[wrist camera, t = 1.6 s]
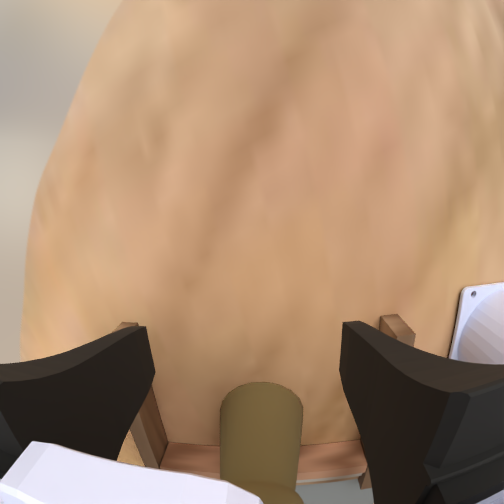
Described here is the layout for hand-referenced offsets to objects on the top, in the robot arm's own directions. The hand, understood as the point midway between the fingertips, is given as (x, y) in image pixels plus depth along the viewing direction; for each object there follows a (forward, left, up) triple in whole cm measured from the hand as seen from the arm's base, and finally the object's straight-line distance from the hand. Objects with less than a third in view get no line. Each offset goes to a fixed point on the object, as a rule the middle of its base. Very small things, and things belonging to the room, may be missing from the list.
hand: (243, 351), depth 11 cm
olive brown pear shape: (0, +10, -8) cm, 13 cm away
